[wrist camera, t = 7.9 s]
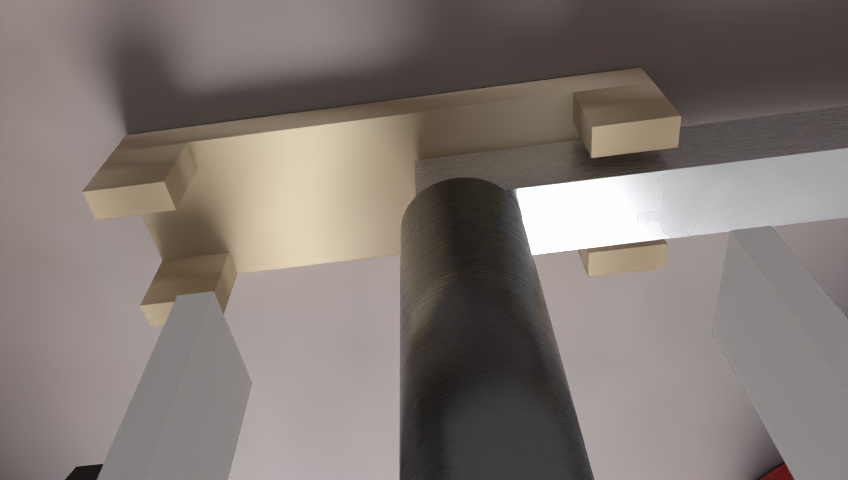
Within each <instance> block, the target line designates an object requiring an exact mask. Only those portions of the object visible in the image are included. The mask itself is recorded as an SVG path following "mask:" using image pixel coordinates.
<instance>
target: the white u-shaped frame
mask: <svg viewBox="0 0 848 480" xmlns="http://www.w3.org/2000/svg"><path fill="white" fill-rule="evenodd" d="M415 188H416V197H415V198H414V199H413V200H412V201H411V203H410V204H409V205H408V207H407V209H406V211H405V213H404V215H403V218H402V222H401V253H400V480H594V477H593V474H592V470H591V466H590V463H589V459H588V455H587V452H586V448H585V444H584V441H583V437H582V433H581V430H580V426H579V423H578V419H577V415H576V412H575V408H574V404H573V401H572V397H571V393H570V390H569V386H568V382H567V379H566V375H565V371H564V368H563V364H562V361H561V357H560V353H559V350H558V346H557V342H556V339H555V335H554V331H553V328H552V324H551V320H550V317H549V313H548V309H547V306H546V302H545V298H544V295H543V291H542V288H541V284H540V280H539V277H538V273H537V269H536V266H535V262H534V258H533V254H541V253H550V252H558V251H567V250H575V249H584V248H592V247H601V246H609V245H618V244H626V243H635V242H643V241H652V240H660V239H669V238H677V237H686V236H694V235H703V234H711V233H720V232H728V231H731V230H737V229H746V228H754V227H763V226H779V225H788V224H796V223H805V222H813V221H822V220H830V219H839V218H847V217H848V106H843V107H835V108H827V109H819V110H811V111H803V112H795V113H787V114H779V115H771V116H763V117H756V118H748V119H740V120H732V121H724V122H716V123H708V124H700V125H692V126H684V127H680V133H679V142H678V147H676V148H668V149H660V150H652V151H644V152H636V153H628V154H620V155H612V156H604V157H596V158H591V156H590V154H589V152H588V150H587V148H586V146H585V144H584V142H583V140H574V141H566V142H558V143H550V144H542V145H534V146H526V147H518V148H510V149H502V150H495V151H487V152H479V153H471V154H463V155H455V156H447V157H439V158H431V159H423V160H415Z"/></svg>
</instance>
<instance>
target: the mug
mask: <svg viewBox="0 0 848 480" xmlns="http://www.w3.org/2000/svg"><path fill="white" fill-rule="evenodd" d="M760 480H794V478H793V476H792V474H791V472H790V471H789V469H788V467H787V465H786V463H785V464H783V465H781V466H779V467H777V468H776V469H774V470H772V471H771V472H769V473H768V474H766V475H765V476H764V477H763V478H761V479H760Z"/></svg>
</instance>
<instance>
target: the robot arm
mask: <svg viewBox="0 0 848 480" xmlns="http://www.w3.org/2000/svg"><path fill="white" fill-rule="evenodd" d="M712 333H713V335H714V337H715V339H716V340H717V342H718V344H719V346H720V347H721V349H722V351H723V353H724V355H725V356H726V358H727V360H728V362H729V364H730V365H731V367H732V369H733V371H734V372H735V374H736V376H737V378H738V380H739V381H740V383H741V385H742V387H743V389H744V390H745V392H746V394H747V396H748V397H749V399H750V401H751V403H752V405H753V406H754V408H755V410H756V412H757V414H758V415H759V417H760V419H761V421H762V422H763V424H764V426H765V428H766V430H767V431H768V433H769V435H770V437H771V438H772V440H773V442H774V444H775V446H776V447H777V449H778V451H779V453H780V455H781V456H782V458H783V460H784V462H785V463H786V465H787V467H788V469H789V471H790V472H791V474H792V476H793V478H794V480H848V319H847V317H846V316H845V315H844V314H843V313H842V311H841V310H840V309H839V308H838V307H837V305H836V304H835V303H834V302H833V300H832V299H831V298H830V297H829V296H828V294H827V293H826V292H825V291H824V290H823V288H822V287H821V286H820V285H819V284H818V282H817V281H816V280H815V279H814V277H813V276H812V275H811V274H810V273H809V271H808V270H807V269H806V268H805V267H804V265H803V264H802V263H801V262H800V261H799V259H798V258H797V257H796V256H795V254H794V253H793V252H792V251H791V250H790V248H789V247H788V246H787V245H786V244H785V242H784V241H783V240H782V239H781V238H780V236H779V235H778V234H777V233H776V231H775V230H774V229H773V228H772V227H771V226H763V227H754V228H746V229H737V230H731V231H730V237H729V242H728V247H727V253H726V258H725V264H724V269H723V275H722V280H721V285H720V291H719V296H718V302H717V307H716V313H715V318H714V323H713V329H712ZM251 384H252V382H251V379H250V377H249V374H248V372H247V370H246V367H245V365H244V362H243V360H242V358H241V355H240V353H239V350H238V348H237V346H236V343H235V341H234V338H233V336H232V334H231V331H230V329H229V326H228V324H227V322H226V319H225V317H224V314H223V312H222V310H221V307H220V305H219V302H218V300H217V298H216V295H215V293H214V291H211V292H202V293H194V294H185V295H177V297H176V299H175V302H174V304H173V306H172V309H171V311H170V313H169V315H168V318H167V320H166V322H165V325H164V327H163V329H162V332H161V334H160V336H159V338H158V341H157V343H156V345H155V348H154V350H153V352H152V354H151V357H150V359H149V361H148V364H147V366H146V368H145V370H144V373H143V375H142V377H141V380H140V382H139V384H138V386H137V389H136V391H135V393H134V396H133V398H132V400H131V403H130V405H129V407H128V409H127V412H126V414H125V416H124V419H123V421H122V423H121V425H120V428H119V430H118V432H117V435H116V437H115V439H114V441H113V444H112V446H111V448H110V451H109V453H108V455H107V457H106V460H105V462H104V464H98V465H89V466H79V467H76V468H75V469H74V470H73V471H72V472H71V474H70V475H69V476H68V477H67V478H66V479H65V480H228V477H229V473H230V469H231V465H232V461H233V457H234V453H235V449H236V445H237V441H238V437H239V433H240V429H241V425H242V421H243V417H244V413H245V409H246V405H247V400H248V396H249V392H250V388H251Z"/></svg>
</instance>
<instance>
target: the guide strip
mask: <svg viewBox="0 0 848 480" xmlns="http://www.w3.org/2000/svg"><path fill="white" fill-rule="evenodd" d="M680 125H681V115H680V113H679V112H678V111H677V110H676V108H675V107H674V106H673V105H672V104H671V102H670V101H669V100H668V99H667V98H666V96H665V95H664V94H663V93H662V92H661V90H660V89H659V88H658V87H657V86H656V84H655V83H654V82H653V81H652V80H651V78H650V77H649V76H648V75H647V74H646V72H645V71H644V70H643V69H642V68H641V67H640V68H632V69H625V70H617V71H609V72H602V73H594V74H587V75H579V76H571V77H564V78H556V79H549V80H541V81H533V82H526V83H518V84H511V85H503V86H495V87H488V88H480V89H473V90H465V91H457V92H450V93H442V94H435V95H427V96H419V97H412V98H404V99H397V100H389V101H381V102H374V103H366V104H359V105H351V106H343V107H336V108H328V109H321V110H313V111H305V112H298V113H290V114H283V115H275V116H267V117H260V118H252V119H245V120H237V121H229V122H222V123H214V124H207V125H199V126H191V127H184V128H176V129H169V130H161V131H153V132H146V133H138V134H131V135H126V136H125V137H124V139H123V140H122V141H121V142H120V144H119V145H118V146H117V148H116V149H115V150H114V151H113V153H112V154H111V155H110V157H109V158H108V159H107V160H106V162H105V163H104V164H103V166H102V167H101V168H100V169H99V171H98V172H97V173H96V175H95V176H94V177H93V178H92V180H91V181H90V182H89V184H88V185H87V186H86V187H85V189H84V190H83V191H82V193H83V195H84V197H85V199H86V201H87V203H88V205H89V207H90V209H91V211H92V213H93V215H94V217H95V219H96V220H100V219H108V218H116V217H124V216H132V215H140V214H142V217H143V219H144V221H145V223H146V225H147V227H148V230H149V232H150V234H151V236H152V238H153V240H154V243H155V245H156V247H157V249H158V251H159V254H160V256H161V258H162V260H163V261H162V263H161V265H160V267H159V269H158V271H157V273H156V275H155V277H154V279H153V281H152V283H151V285H150V287H149V289H148V291H147V293H146V295H145V297H144V299H143V301H142V303H141V305H140V306H141V308H142V310H143V312H144V314H145V316H146V318H147V320H148V322H149V324H150V326H151V327H158V326H164V325H165V322H166V320H167V318H168V315H169V313H170V311H171V309H172V306H173V304H174V302H175V299H176V297H177V295H185V294H194V293H202V292H211V291H214V293H215V295H216V298H217V300H218V302H219V305H220V307H221V310H222V312H223V314H224V311H225V308H226V305H227V302H228V299H229V296H230V293H231V290H232V287H233V284H234V281H235V279H236V276H237V274H238V273H246V272H255V271H263V270H272V269H280V268H289V267H297V266H305V265H314V264H322V263H331V262H339V261H347V260H356V259H364V258H373V257H381V256H389V255H398V254H400V253H401V222H402V218H403V215H404V213H405V211H406V209H407V207H408V205H409V204H410V203H411V201H412V200H413V199H414V198H415V197H416V188H415V160H423V159H431V158H439V157H447V156H455V155H463V154H471V153H479V152H487V151H495V150H502V149H510V148H518V147H526V146H534V145H542V144H550V143H558V142H566V141H574V140H583V142H584V144H585V146H586V148H587V150H588V152H589V154H590V156H591V158H596V157H604V156H612V155H620V154H628V153H636V152H644V151H652V150H660V149H668V148H676V147H678V142H679V133H680ZM666 246H667V243H666V242H665V240H664V239H660V240H652V241H643V242H635V243H626V244H618V245H609V246H601V247H592V248H584V249H578V251H579V254H580V257H581V259H582V262H583V265H584V267H585V270H586V273H587V275H588V277H591V276H600V275H608V274H617V273H626V272H635V271H643V270H652V269H661V268H664V264H665V255H666Z"/></svg>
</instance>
